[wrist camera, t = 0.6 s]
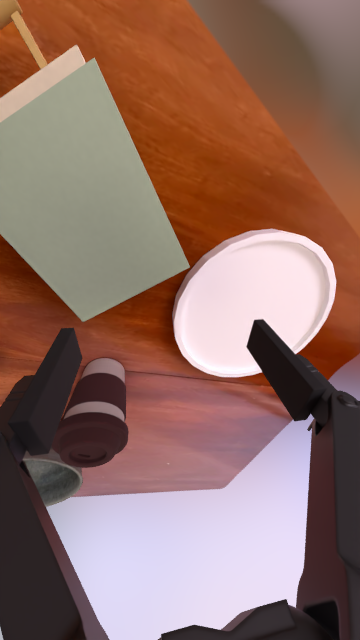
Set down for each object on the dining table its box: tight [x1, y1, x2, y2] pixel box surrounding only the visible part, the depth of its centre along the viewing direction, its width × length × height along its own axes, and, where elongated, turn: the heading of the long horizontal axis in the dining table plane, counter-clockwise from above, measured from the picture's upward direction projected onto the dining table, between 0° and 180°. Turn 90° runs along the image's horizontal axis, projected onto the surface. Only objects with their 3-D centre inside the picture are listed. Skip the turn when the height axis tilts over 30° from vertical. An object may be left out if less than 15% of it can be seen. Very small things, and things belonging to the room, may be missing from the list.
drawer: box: [0, 0, 86, 122], centre depth 19 cm, size 19×12×8 cm, turn 25°
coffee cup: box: [51, 358, 128, 468], centre depth 33 cm, size 10×10×15 cm
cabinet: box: [0, 58, 190, 322], centre depth 21 cm, size 15×13×10 cm
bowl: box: [23, 447, 83, 507], centre depth 43 cm, size 21×21×10 cm
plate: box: [172, 229, 336, 377], centre depth 36 cm, size 28×28×2 cm
